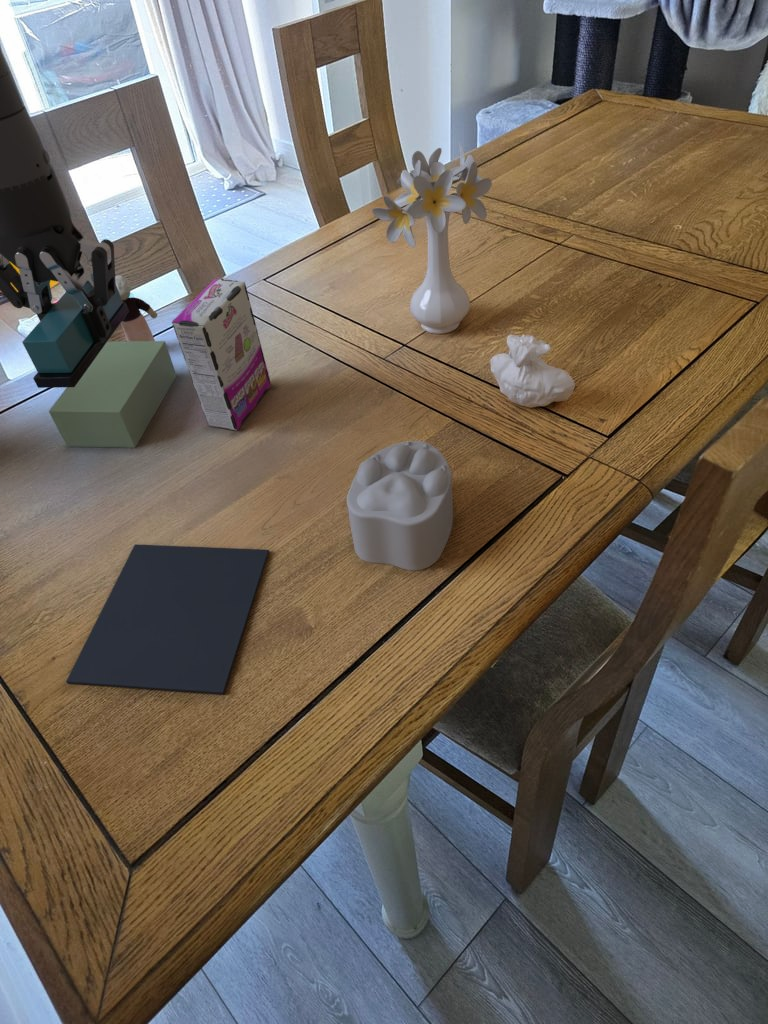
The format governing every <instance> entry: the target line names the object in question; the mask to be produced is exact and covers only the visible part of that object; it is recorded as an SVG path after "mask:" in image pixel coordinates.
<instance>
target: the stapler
mask: <svg viewBox="0 0 768 1024" xmlns="http://www.w3.org/2000/svg"><path fill="white" fill-rule="evenodd" d="M90 274H91V280H92V281H93V273H90ZM93 283H94V281H93ZM55 303H56V304H55V305H54V306H53V307H52V308H51V310H50V311H49V312H48V313H47V314H46V315H45V316H44V318H43V319H42V320H41V321H40V320H39V322H38V323H37V324H36V325H35V326H34V328H33V329H32V330H31V331H30V332H29V334H27V336H26V337H25V338H24V339H23V340H22V342H21V343H22V345H23V347H24V349H25V350H26V352H27V354H28V357H29V359H30V360H31V362H32V364H33V366H34V368H35V370H36V372H37V373H36V374H35V375H34V376H33V377H32V378H33V381H34V383H35V385H36V387H37V388H38V389H43V388H44V389H46V388H47V389H48V388H49V389H50V388H51V389H52V388H54V389H55V388H56V389H57V388H58V389H59V388H67V387H75V386H76V384H77V383H78V382H79V380H80V379H81V378H82V376H83V375H84V373H85V372H86V371H87V369H88V368H89V366H90V365H91V364H92V362H93V361H94V359H95V358H96V357H97V355H98V354H99V352H100V351H101V350H102V348H103V347H104V345H105V344H106V343H107V341H110V339H111V337H112V336H113V334H114V333H115V332H116V330H117V329H118V327H119V326H120V325H121V322H122V320H123V319H124V317H125V316H126V315H127V313H128V312H129V311H128V308H127V305H126V303H125V302H122V299H121V296H120V294H119V291H118V289H117V286H116V293H115V294H114V295H113V296H112V297H111V299H110V300H109V301H108V303H107V304H106V305H105V306H103V308H104V310H105V313H106V315H107V318H108V320H109V323H110V325H111V331H110V333H109V336H108V337H107V339H106V340H105V341H104V343H95V341H94V339H93V337H92V334H91V332H90V330H89V328H88V325H87V323H86V321H85V318H84V316H83V314H82V313H83V311H84V310H83V309H82V308H81V306H80V305H79V304H78V302H77V301H76V299H75V298H74V297H73V295H72V294H68V293H67V292H66V291H65V292H64V293H63V295H62V296H61V297H60V298H59V299H58V300H57V302H55Z"/></svg>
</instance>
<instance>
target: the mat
mask: <svg viewBox="0 0 768 1024" xmlns="http://www.w3.org/2000/svg"><path fill="white" fill-rule="evenodd" d="M269 554H270V550H269V549H261V548H260V549H259V548H257V549H255V548H236V547H233V548H232V547H210V546H209V547H207V546H186V545H185V546H182V545H159V544H134V545H133V546H132V549H131V551H130V553H129V554H128V558H127V559H126V561H125V564H124V565H123V567H122V569H121V571H120V573H119V574H118V577H117V579H116V580H115V583H114V585H113V587H112V589H111V591H110V593H109V594H108V596H107V599H106V601H105V603H104V605H103V607H102V609H101V611H100V613H99V615H98V617H97V619H96V621H95V623H94V624H93V626H92V629H91V631H90V633H89V635H88V637H87V639H86V641H85V643H84V644H83V646H82V649H81V650H80V653H79V654H78V657H77V659H76V661H75V662H74V665H73V666H72V669H71V671H70V672H69V675H68V677H67V678H66V681H65V682H66V684H69V685H82V686H83V685H84V686H97V687H111V688H126V689H140V690H151V691H152V690H153V691H167V692H181V693H194V694H207V695H208V694H209V695H222V696H223V695H225V693H226V689H227V687H228V684H229V683H228V682H229V680H230V676H231V673H232V670H233V667H234V664H235V661H236V658H237V655H238V651H239V649H240V645H241V642H242V640H243V635H244V632H245V630H246V626H247V623H248V620H249V617H250V614H251V611H252V607H253V604H254V601H255V599H256V595H257V592H258V589H259V586H260V582H261V579H262V576H263V574H264V573H263V572H264V569H265V566H266V564H267V560H268V558H269Z"/></svg>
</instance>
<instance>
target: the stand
mask: <svg viewBox="0 0 768 1024" xmlns="http://www.w3.org/2000/svg"><path fill="white" fill-rule="evenodd" d="M176 378H177V372H176V369H175V365H174V364H173V360H172V358H171V355H170V352H169V349H168V347H167V343H166V340H165V341H164V340H155V341H124V340H123V341H118V340H117V341H116V340H115V341H112V340H111V341H110V340H108V341H107V343H106V344H105V345H104V347H103V348H102V350H101V351H100V352H99V354H98V355H97V357H96V358H95V359H94V361H93V362H92V364H91V365H90V366H89V368H88V369H87V371H86V372H85V373H84V375H83V376H82V378H81V379H80V380H79V382H78V383H77V384H76V386H75V387H65V388H64V390H63V392H62V393H61V394H60V396H59V397H58V398H57V400H56V401H55V402H54V404H53V405H52V406H51V407H50V409H49V410H48V413H49V415H50V417H51V419H52V420H53V423H54V424H55V426H56V429H57V431H58V432H59V434H60V436H61V438H62V440H63V442H64V443H65V445H66V447H71V448H72V447H73V448H74V447H75V448H76V447H77V448H80V447H82V448H127V449H129V448H130V449H132V448H133V449H135V448H136V447H137V446H138V444H139V443H140V440H141V439H142V437H143V436H144V433H145V432H146V430H147V428H148V427H149V425H150V424H151V421H152V419H154V416H155V414H156V413H157V411H158V409H159V408H160V406H161V404H162V402H163V400H164V399H165V398H166V395H167V394H168V392H169V390H170V389H171V386H173V385H172V384H173V383H174V381H175V380H176Z"/></svg>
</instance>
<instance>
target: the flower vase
mask: <svg viewBox="0 0 768 1024" xmlns="http://www.w3.org/2000/svg"><path fill="white" fill-rule="evenodd" d="M442 150H443V149H442V148H441V147H438V148H436V149H435V150H434V151H433V152H432V153H431V155H430V156H429V158H428V161H427V159H426V157H425V155H424V153H423V152H422V151H420V150H416V151H415V152H414V153H413V154H412V155H411V165H412V168H413V169H412V170H410V171H408V170H407V169H403V170H402V171H401V173H400V177H399V178H398V179H397V182H396V183H397V185H398V186H402V188H403V189H404V190H405V192H402V193H400V194H399V195H398V196H397V197H396V198H395V200H393V199H392V198H391V196H388V195H384V196H383V202H384V204H385V206H386V207H387V208H385V207H373V208H372V209H371V212H372V214H373V216H375V217H376V218H377V219H378V220H380V221H383V222H390V223H389V224H388V225H387V228H386V239H387V241H388V242H390V243H391V244H393V243H396V242H397V241H398V240H399V238H400V237H401V235H402V236H403V238H404V240H405V242H406V243H407V244H408V246H410V247H411V248H415V247H416V241H415V237H414V234H413V231H412V227H413V226H414V225H415V223H416V221H415V220H418V219H422V218H424V219H425V224H426V233H427V235H426V236H427V264H426V271H425V275H424V278H423V281H422V283H421V284H420V285H419V286H418V287H417V288H416V289H415V290H414V291H413V293H412V295H411V297H410V302H409V306H408V307H409V312H410V314H411V316H412V318H414V320H415V321H416V322H418V324H419V325H420V327H421V328H422V329H423V331H425V332H427V333H428V334H429V333H430V334H435V335H443V334H448V333H451V332H453V331H455V330H456V329H458V327H459V326H460V324H461V322H462V320H464V319H465V318H466V316H467V314H468V313H469V311H470V308H471V300H470V297H469V295H468V292H467V291H466V289H465V288H464V287H463V286H462V285H461V284H460V283H458V282H457V280H456V279H455V276H454V274H453V272H452V267H451V262H450V261H451V260H450V246H449V224H450V223H449V222H450V216H451V213H457V212H458V213H459V212H461V215H462V216H461V217H462V222H463V223H464V224H465V225H467V224H468V223H469V222H470V220H471V217H472V212H473V213H474V215H475V216H476V217H477V218H478V219H480V220H482V221H484V220H486V218H487V214H488V213H487V212H488V211H487V209H486V206H485V203H483V201H482V200H481V199H479V198H482V197H483V196H485V195H486V194H488V193H489V191H490V190H491V188H492V185H493V182H492V179H490V178H489V177H484V178H482V177H481V176H479V175H478V172H479V169H478V164H477V162H476V161H475V158H474V157H473V155H472V154H468V155H467V157H466V154H465V151H464V149H463V146H462V144H461V142H459V141H458V151H459V165H458V166H454V167H452V168H450V169H446V168H445V165H444V163H442V162H441V161H439V160H440V158H441V155H442ZM460 181H462V182H460ZM456 183H458V184H457V185H456V189H455V191H456V192H453V193H450V194H448V193H449V192H450V190H451V188H452V185H454V184H456ZM403 207H404V208H403Z"/></svg>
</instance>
